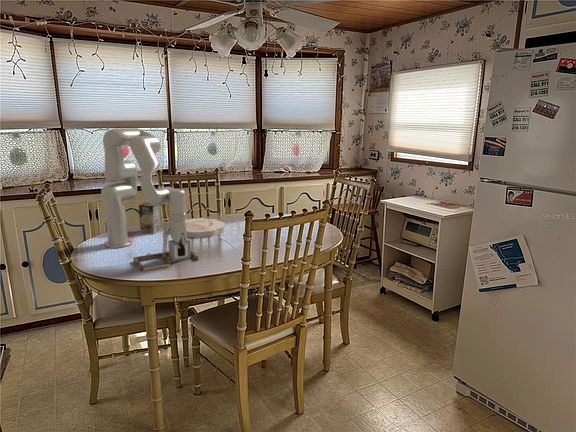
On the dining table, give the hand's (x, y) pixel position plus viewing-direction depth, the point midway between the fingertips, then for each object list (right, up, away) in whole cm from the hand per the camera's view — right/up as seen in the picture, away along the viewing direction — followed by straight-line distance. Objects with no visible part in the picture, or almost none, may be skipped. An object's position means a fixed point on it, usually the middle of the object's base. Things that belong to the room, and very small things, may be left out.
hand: (179, 254), depth 189 cm
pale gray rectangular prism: (0, -2, +1) cm, 2 cm away
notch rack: (-5, -3, -3) cm, 7 cm away
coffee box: (-28, +9, +42) cm, 51 cm away
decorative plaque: (-2, +9, +47) cm, 48 cm away
